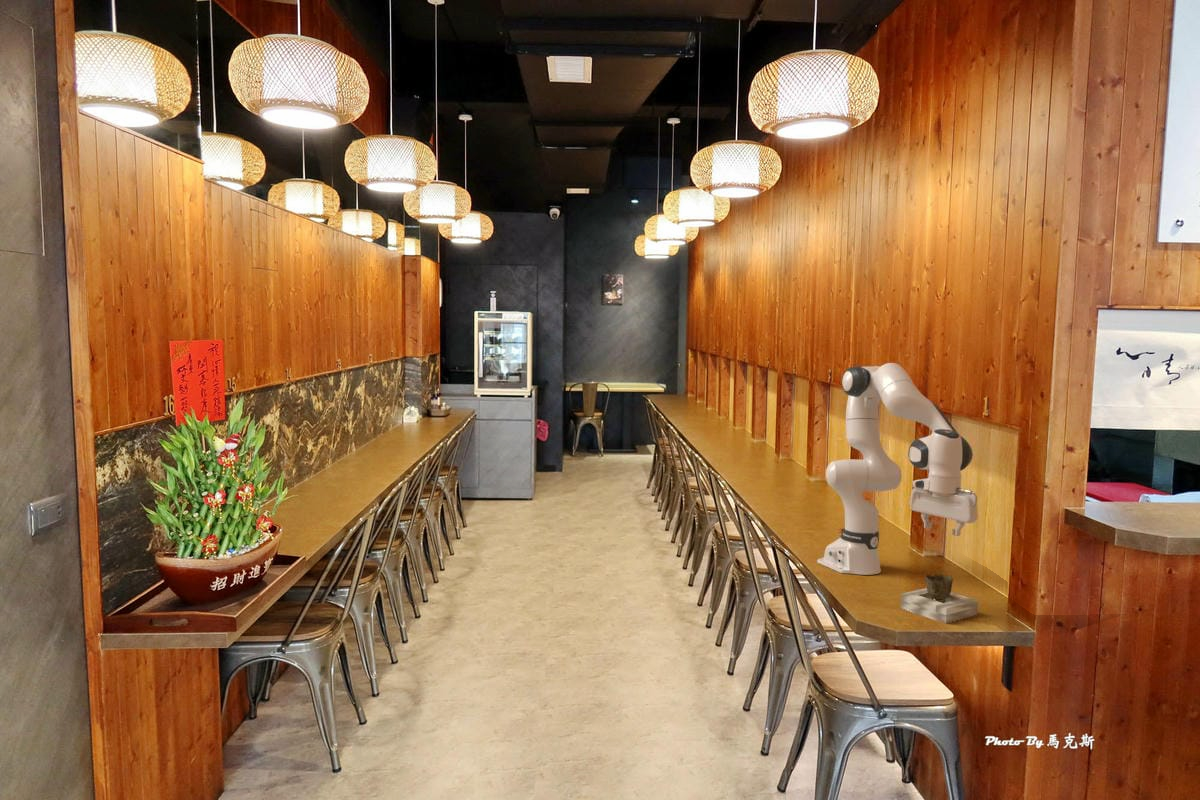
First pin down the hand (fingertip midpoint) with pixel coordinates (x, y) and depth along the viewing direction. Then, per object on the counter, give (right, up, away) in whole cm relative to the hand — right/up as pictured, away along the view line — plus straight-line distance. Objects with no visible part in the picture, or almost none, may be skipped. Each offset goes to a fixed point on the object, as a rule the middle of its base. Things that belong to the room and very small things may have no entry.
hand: (941, 531), depth 231 cm
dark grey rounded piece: (0, -22, +2) cm, 22 cm away
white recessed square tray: (0, -25, +1) cm, 25 cm away
